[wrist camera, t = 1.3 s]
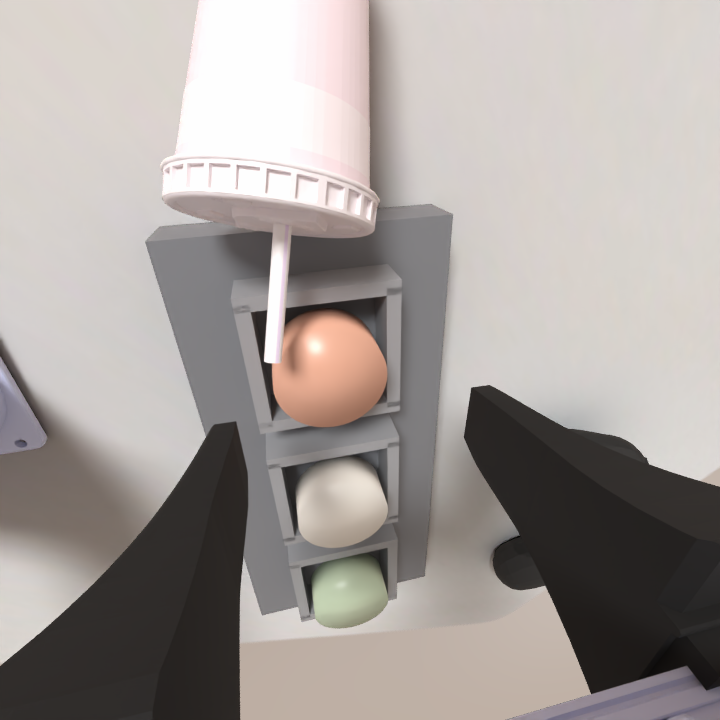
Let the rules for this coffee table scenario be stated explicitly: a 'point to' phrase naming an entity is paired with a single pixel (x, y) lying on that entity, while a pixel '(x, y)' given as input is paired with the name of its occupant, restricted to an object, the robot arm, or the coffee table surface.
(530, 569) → the gaming controller
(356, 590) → the sage button
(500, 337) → the coffee table surface
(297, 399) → the peach button
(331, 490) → the offwhite button
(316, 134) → the smoothie
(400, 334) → the button panel
